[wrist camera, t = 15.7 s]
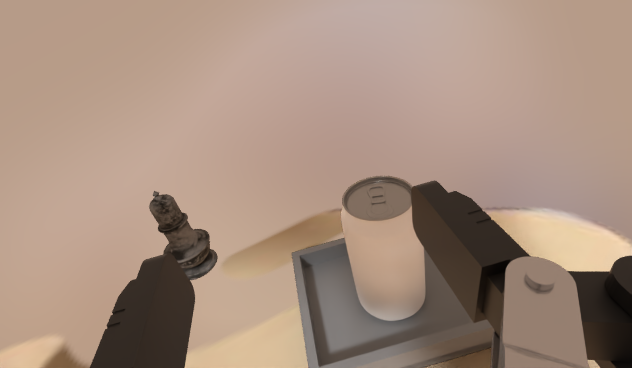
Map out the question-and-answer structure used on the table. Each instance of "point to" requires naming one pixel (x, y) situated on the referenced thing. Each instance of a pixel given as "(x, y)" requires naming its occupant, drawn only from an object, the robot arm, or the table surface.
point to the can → (384, 247)
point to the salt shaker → (183, 237)
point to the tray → (371, 332)
